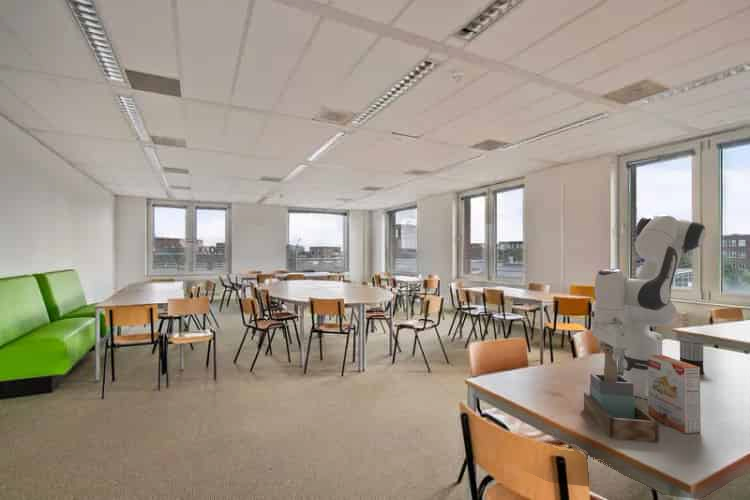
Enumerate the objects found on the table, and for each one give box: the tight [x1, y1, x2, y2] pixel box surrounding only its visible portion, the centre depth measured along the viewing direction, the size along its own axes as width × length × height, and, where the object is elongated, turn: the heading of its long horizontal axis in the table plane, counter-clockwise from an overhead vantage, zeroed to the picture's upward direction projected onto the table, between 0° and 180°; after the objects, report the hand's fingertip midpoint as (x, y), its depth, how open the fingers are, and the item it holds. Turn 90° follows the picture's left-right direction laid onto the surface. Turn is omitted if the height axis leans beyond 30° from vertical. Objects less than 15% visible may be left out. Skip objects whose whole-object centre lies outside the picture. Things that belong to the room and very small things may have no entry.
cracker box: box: [647, 354, 702, 435], centre depth 122 cm, size 14×6×21 cm, turn 5°
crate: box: [589, 373, 636, 419], centre depth 126 cm, size 10×10×12 cm
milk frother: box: [678, 337, 705, 375], centre depth 179 cm, size 14×16×15 cm
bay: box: [583, 391, 660, 444], centre depth 122 cm, size 13×22×6 cm, turn 169°
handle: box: [599, 344, 619, 382], centre depth 127 cm, size 5×6×15 cm
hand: (609, 356), depth 127 cm, fingers open, 8 cm apart
